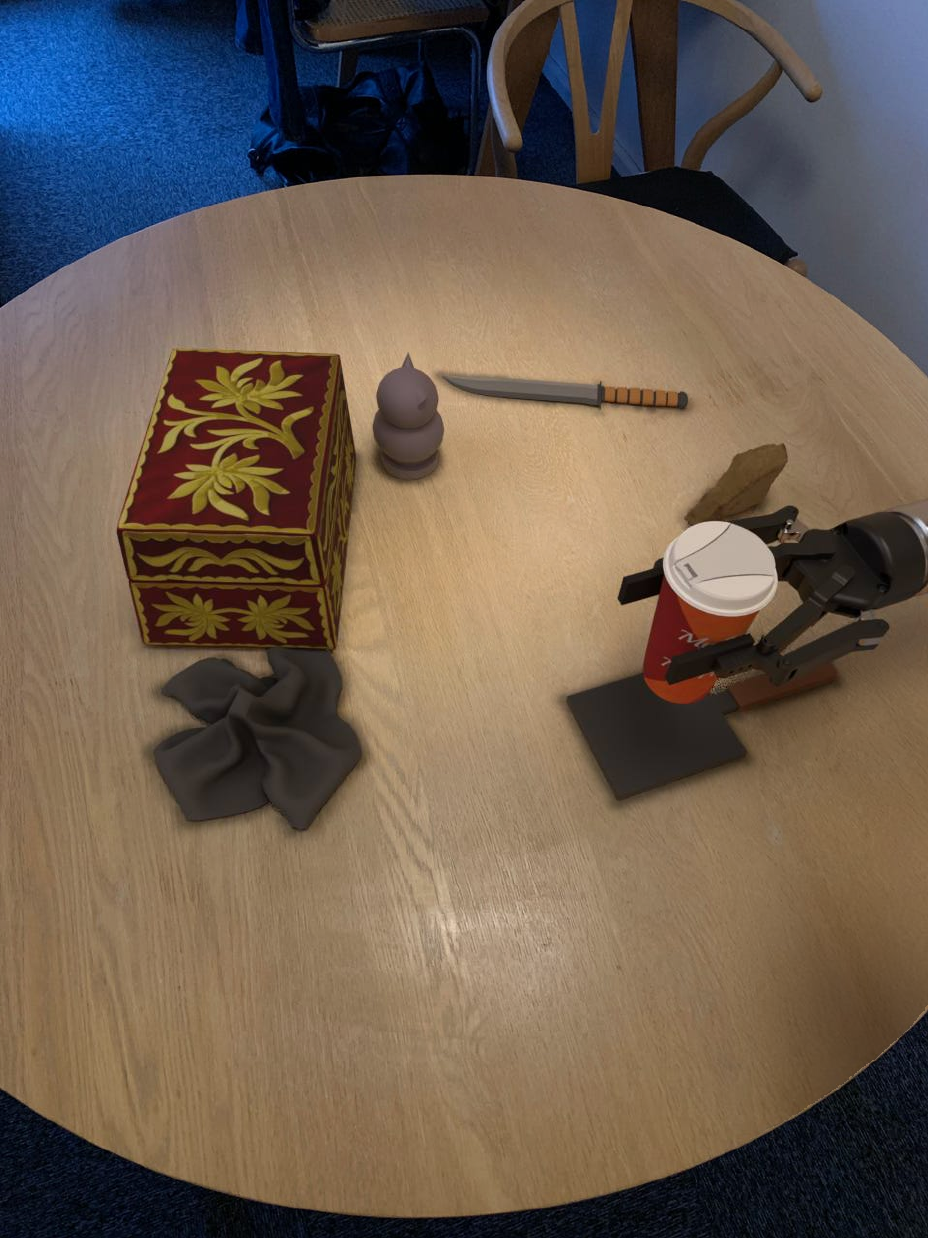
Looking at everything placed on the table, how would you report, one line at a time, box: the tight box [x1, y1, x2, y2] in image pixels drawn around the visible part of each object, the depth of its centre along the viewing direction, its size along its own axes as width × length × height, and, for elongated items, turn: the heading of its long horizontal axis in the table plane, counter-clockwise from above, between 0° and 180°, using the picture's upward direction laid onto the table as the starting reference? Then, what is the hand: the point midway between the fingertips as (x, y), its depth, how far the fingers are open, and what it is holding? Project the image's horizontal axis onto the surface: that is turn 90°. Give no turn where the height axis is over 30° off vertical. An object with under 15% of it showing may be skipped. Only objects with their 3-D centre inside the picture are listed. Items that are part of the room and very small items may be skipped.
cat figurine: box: [372, 352, 445, 481], centre depth 102 cm, size 8×8×12 cm
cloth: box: [153, 647, 363, 830], centre depth 83 cm, size 22×19×6 cm
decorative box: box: [116, 348, 357, 650], centre depth 92 cm, size 28×19×15 cm
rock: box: [685, 442, 789, 526], centre depth 102 cm, size 11×9×10 cm
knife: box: [441, 374, 689, 410], centre depth 114 cm, size 30×1×5 cm
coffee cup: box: [642, 520, 779, 704], centre depth 72 cm, size 8×8×15 cm
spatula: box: [566, 662, 840, 801], centre depth 88 cm, size 11×26×1 cm, turn 111°
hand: (646, 630), depth 70 cm, fingers closed on coffee cup, 7 cm apart
